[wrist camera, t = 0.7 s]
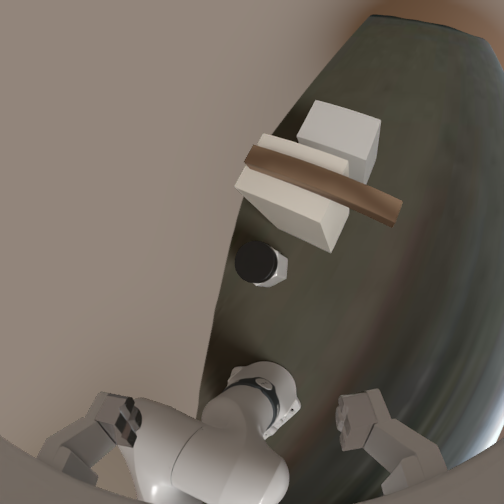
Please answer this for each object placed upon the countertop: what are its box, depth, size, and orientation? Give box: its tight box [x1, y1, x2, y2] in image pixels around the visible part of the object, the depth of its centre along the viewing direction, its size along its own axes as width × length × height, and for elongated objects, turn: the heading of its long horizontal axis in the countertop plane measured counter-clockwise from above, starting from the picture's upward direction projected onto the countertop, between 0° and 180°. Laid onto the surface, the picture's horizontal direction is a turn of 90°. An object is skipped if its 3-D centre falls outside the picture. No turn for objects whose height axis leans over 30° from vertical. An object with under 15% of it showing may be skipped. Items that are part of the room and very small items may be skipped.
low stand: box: [297, 100, 381, 185], centre depth 53 cm, size 10×14×16 cm
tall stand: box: [234, 133, 349, 253], centre depth 50 cm, size 10×14×26 cm
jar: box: [235, 241, 288, 287], centre depth 58 cm, size 9×8×12 cm
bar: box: [244, 145, 403, 228], centre depth 34 cm, size 3×22×2 cm, turn 62°
